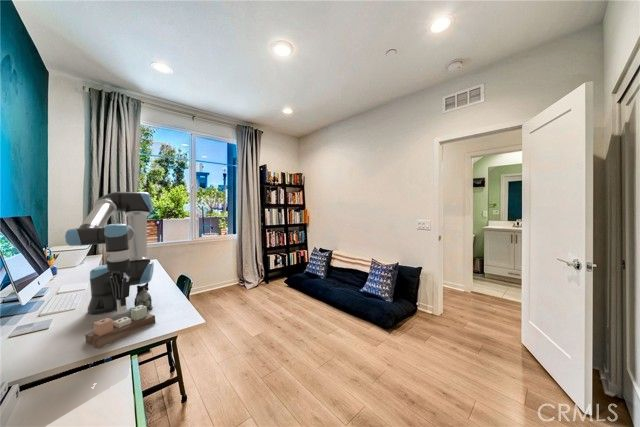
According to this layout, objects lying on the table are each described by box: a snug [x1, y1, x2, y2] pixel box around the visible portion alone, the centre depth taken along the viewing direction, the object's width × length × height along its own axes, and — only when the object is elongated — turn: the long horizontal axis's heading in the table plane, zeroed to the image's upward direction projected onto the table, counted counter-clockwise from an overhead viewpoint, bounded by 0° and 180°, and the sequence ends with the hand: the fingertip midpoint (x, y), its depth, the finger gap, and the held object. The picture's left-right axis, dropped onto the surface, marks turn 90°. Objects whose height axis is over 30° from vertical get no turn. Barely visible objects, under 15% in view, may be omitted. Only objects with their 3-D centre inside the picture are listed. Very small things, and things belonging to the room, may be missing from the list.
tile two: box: [113, 316, 131, 328], centre depth 102 cm, size 4×4×5 cm
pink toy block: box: [93, 317, 114, 337], centre depth 96 cm, size 4×4×5 cm
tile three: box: [129, 305, 148, 321], centre depth 108 cm, size 4×4×5 cm
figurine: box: [129, 282, 153, 312], centre depth 121 cm, size 10×10×15 cm
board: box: [84, 312, 156, 350], centre depth 102 cm, size 10×21×4 cm, turn 156°
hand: (122, 312), depth 102 cm, fingers closed
